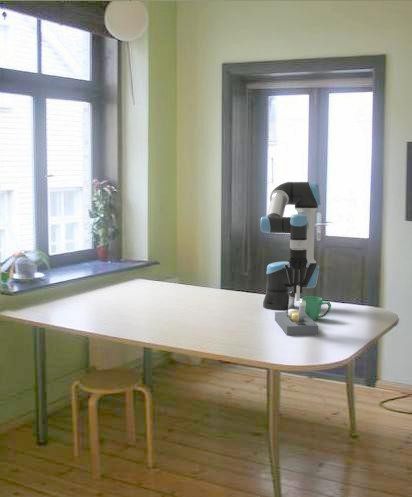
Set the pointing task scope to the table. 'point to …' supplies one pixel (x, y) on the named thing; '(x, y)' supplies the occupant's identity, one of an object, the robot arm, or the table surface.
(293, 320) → the button mustard
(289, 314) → the button ivory
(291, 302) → the lever
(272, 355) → the table surface
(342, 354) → the table surface
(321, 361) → the table surface
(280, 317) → the panel
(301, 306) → the lever
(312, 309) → the mug
